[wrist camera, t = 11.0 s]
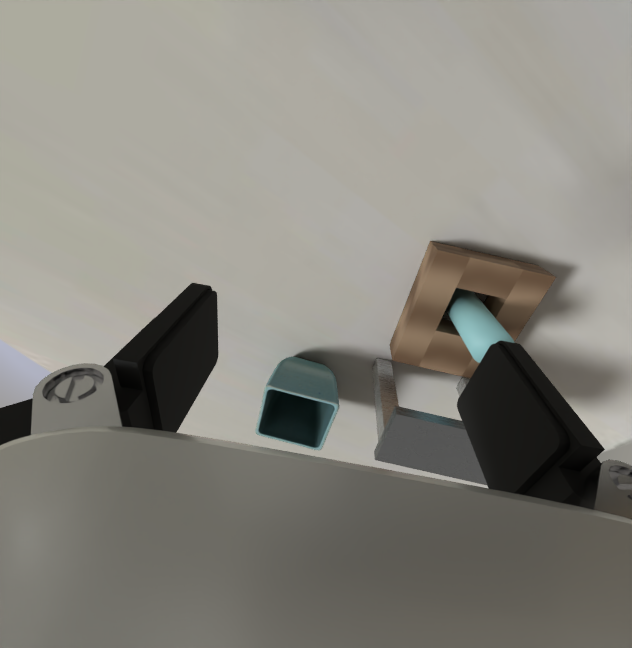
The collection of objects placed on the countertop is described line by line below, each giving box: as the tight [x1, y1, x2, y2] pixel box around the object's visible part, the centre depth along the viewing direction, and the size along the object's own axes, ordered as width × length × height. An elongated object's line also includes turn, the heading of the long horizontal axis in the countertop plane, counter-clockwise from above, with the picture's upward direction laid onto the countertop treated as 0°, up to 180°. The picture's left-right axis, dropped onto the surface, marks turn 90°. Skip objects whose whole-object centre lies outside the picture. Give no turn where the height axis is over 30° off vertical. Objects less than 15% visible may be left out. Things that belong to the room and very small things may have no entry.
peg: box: [446, 288, 514, 363], centre depth 32 cm, size 4×4×10 cm
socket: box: [390, 241, 556, 378], centre depth 35 cm, size 14×12×4 cm
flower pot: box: [255, 357, 339, 450], centre depth 40 cm, size 9×9×9 cm
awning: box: [373, 358, 487, 485], centre depth 34 cm, size 6×15×14 cm, turn 78°
